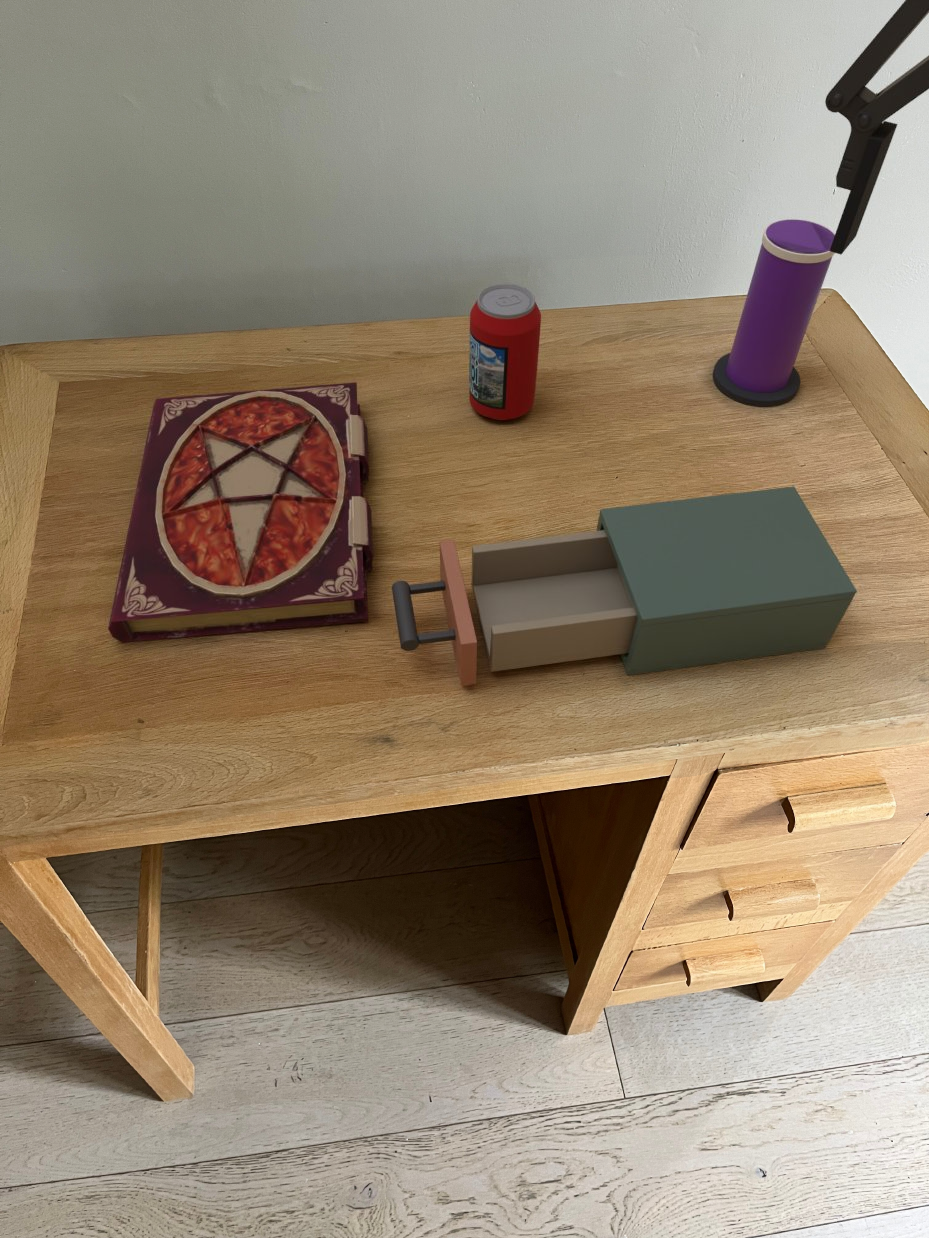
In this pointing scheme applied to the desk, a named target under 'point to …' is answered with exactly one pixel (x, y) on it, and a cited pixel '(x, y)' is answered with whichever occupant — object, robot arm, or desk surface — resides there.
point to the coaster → (749, 396)
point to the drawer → (528, 603)
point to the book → (248, 516)
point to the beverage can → (503, 351)
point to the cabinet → (725, 578)
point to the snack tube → (779, 303)
